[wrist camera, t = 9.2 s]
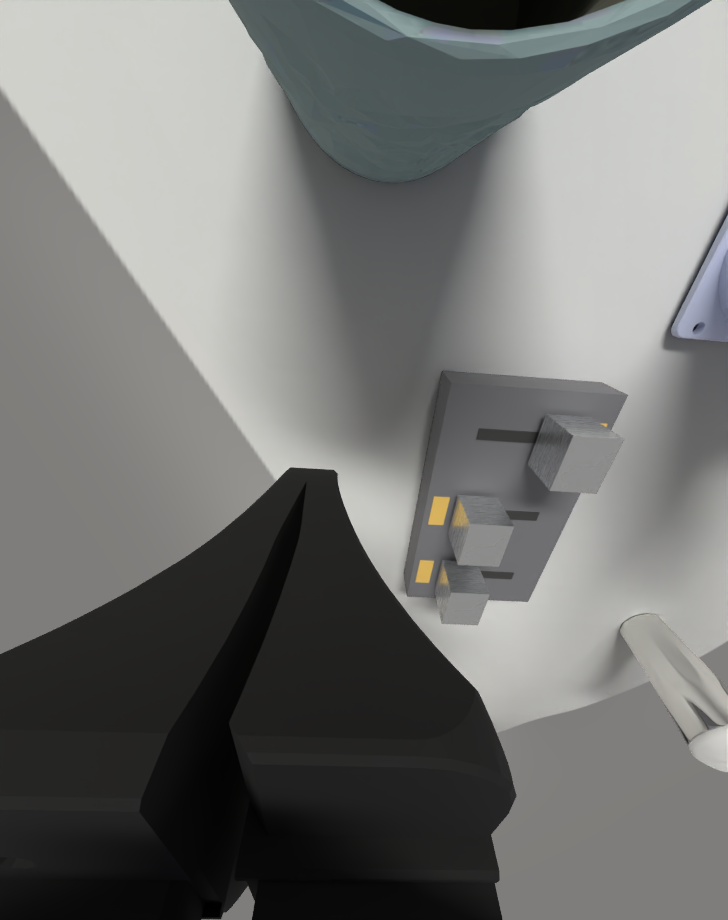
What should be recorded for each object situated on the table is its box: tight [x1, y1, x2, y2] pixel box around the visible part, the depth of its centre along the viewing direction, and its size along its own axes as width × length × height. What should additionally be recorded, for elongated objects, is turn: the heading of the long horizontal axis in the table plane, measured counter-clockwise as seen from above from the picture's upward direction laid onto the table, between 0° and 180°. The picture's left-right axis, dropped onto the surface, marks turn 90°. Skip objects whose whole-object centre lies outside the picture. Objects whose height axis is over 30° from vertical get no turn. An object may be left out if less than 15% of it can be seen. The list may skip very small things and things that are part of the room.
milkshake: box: [620, 614, 728, 772], centre depth 24 cm, size 4×5×10 cm
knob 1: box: [448, 495, 514, 567], centre depth 18 cm, size 2×3×2 cm
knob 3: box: [528, 414, 624, 494], centre depth 16 cm, size 2×3×2 cm
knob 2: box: [434, 560, 490, 625], centre depth 21 cm, size 2×3×2 cm
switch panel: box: [404, 371, 628, 602], centre depth 20 cm, size 8×15×2 cm, turn 176°
